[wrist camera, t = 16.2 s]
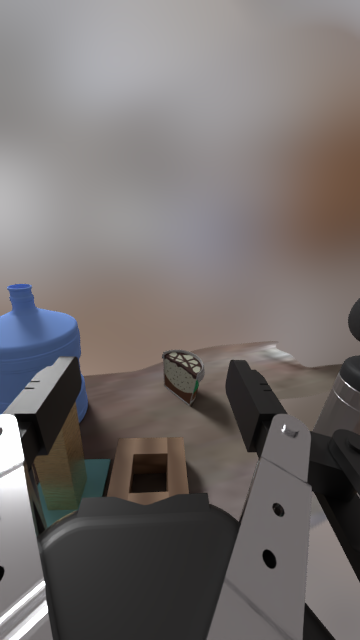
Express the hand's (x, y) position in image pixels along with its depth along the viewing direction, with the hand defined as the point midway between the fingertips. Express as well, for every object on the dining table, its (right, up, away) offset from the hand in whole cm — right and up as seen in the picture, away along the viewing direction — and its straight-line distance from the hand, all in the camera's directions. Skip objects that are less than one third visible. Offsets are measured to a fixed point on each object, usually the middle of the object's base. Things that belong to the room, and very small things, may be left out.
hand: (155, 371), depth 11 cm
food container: (+3, -16, +44) cm, 47 cm away
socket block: (-4, -24, +22) cm, 33 cm away
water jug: (-27, -18, +33) cm, 46 cm away
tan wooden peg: (-15, -23, +20) cm, 34 cm away
